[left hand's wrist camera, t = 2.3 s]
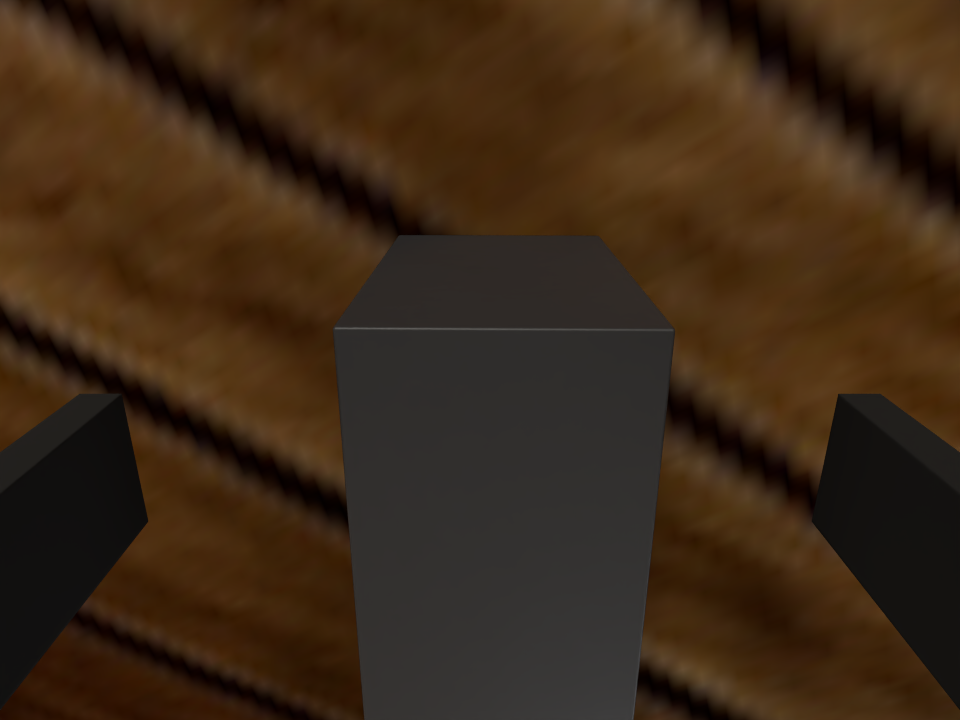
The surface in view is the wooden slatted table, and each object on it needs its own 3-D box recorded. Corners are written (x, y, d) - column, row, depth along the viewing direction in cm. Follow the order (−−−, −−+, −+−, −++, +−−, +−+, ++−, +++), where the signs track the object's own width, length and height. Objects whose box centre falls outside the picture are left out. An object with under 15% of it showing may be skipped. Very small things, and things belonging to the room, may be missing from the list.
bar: (398, 234, 18) (331, 327, 11) (599, 235, 18) (675, 328, 10) (423, 832, 26) (396, 1124, 19) (562, 834, 26) (590, 1128, 19)
